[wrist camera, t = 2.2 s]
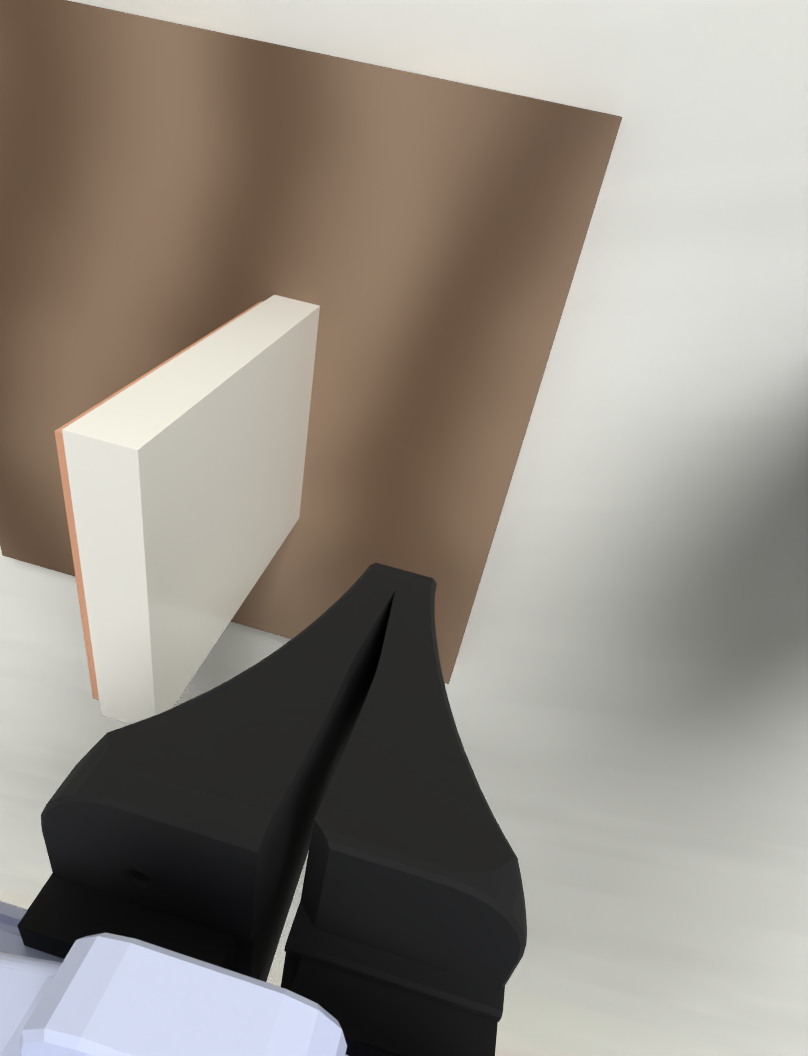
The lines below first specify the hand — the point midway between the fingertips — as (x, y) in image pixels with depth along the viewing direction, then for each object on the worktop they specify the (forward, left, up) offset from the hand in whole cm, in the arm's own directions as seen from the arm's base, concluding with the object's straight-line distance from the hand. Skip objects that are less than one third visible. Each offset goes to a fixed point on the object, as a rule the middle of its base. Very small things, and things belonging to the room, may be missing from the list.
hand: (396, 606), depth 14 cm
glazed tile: (+5, 0, -7) cm, 9 cm away
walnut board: (+7, 0, -8) cm, 11 cm away
